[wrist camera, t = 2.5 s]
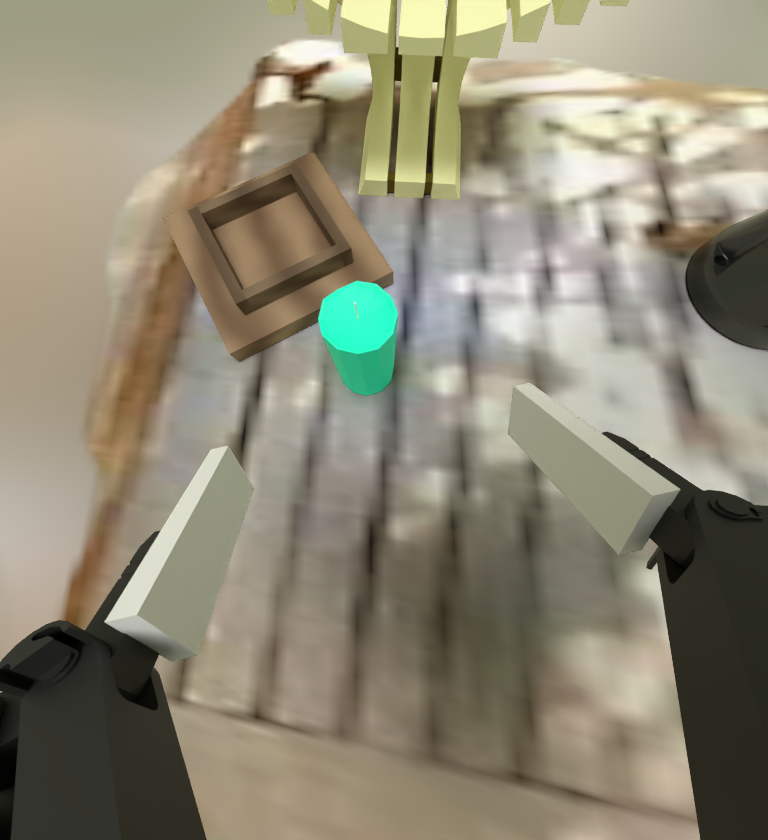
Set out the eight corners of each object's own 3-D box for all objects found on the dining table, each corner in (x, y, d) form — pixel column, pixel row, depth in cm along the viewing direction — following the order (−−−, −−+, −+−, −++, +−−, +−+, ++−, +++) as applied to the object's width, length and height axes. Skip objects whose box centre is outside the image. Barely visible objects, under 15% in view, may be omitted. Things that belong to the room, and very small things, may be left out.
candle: (392, 344, 31) (396, 263, 20) (394, 394, 30) (400, 341, 18) (340, 345, 31) (312, 266, 19) (340, 396, 30) (310, 344, 18)
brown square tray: (317, 169, 36) (308, 132, 32) (392, 283, 33) (393, 257, 29) (175, 233, 35) (148, 201, 31) (239, 361, 31) (218, 345, 27)
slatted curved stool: (521, 110, 38) (634, -197, 21) (525, 203, 35) (663, -67, 18) (309, 101, 39) (246, -204, 22) (293, 191, 36) (205, -81, 18)
